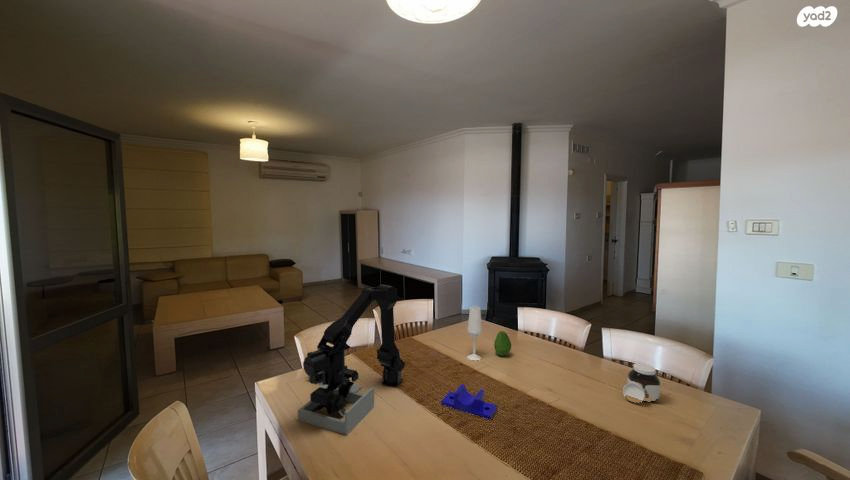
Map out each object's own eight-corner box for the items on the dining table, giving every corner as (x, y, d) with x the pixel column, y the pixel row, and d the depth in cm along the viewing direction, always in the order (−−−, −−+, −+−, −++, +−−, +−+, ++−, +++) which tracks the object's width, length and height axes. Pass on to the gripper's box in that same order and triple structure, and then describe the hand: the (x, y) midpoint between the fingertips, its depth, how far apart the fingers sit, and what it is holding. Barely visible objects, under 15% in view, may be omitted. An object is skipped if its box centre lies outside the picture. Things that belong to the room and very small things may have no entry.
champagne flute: (480, 355, 158) (481, 306, 156) (481, 361, 151) (483, 310, 149) (466, 354, 158) (467, 305, 157) (466, 360, 152) (468, 309, 150)
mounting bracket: (496, 410, 114) (497, 393, 113) (490, 421, 108) (491, 404, 107) (449, 396, 122) (449, 380, 122) (441, 405, 116) (441, 389, 116)
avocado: (493, 357, 155) (493, 332, 154) (494, 351, 163) (495, 327, 162) (510, 360, 153) (511, 334, 152) (511, 353, 160) (512, 329, 159)
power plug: (312, 405, 113) (340, 387, 112) (325, 423, 113) (353, 404, 112) (306, 415, 107) (335, 396, 106) (319, 434, 108) (349, 414, 107)
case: (374, 406, 114) (374, 387, 114) (347, 435, 100) (347, 413, 99) (329, 395, 121) (329, 377, 121) (298, 420, 106) (297, 399, 106)
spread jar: (656, 395, 124) (658, 365, 123) (663, 411, 114) (665, 379, 113) (619, 388, 129) (621, 359, 128) (623, 402, 119) (625, 371, 118)
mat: (361, 387, 127) (361, 386, 127) (349, 398, 119) (349, 397, 119) (331, 380, 132) (331, 379, 132) (318, 390, 124) (318, 389, 124)
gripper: (333, 350, 121) (333, 391, 122) (296, 372, 103) (296, 419, 104) (359, 355, 117) (359, 397, 118) (325, 378, 99) (325, 428, 100)
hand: (335, 409), depth 110 cm, fingers closed on power plug, 6 cm apart
